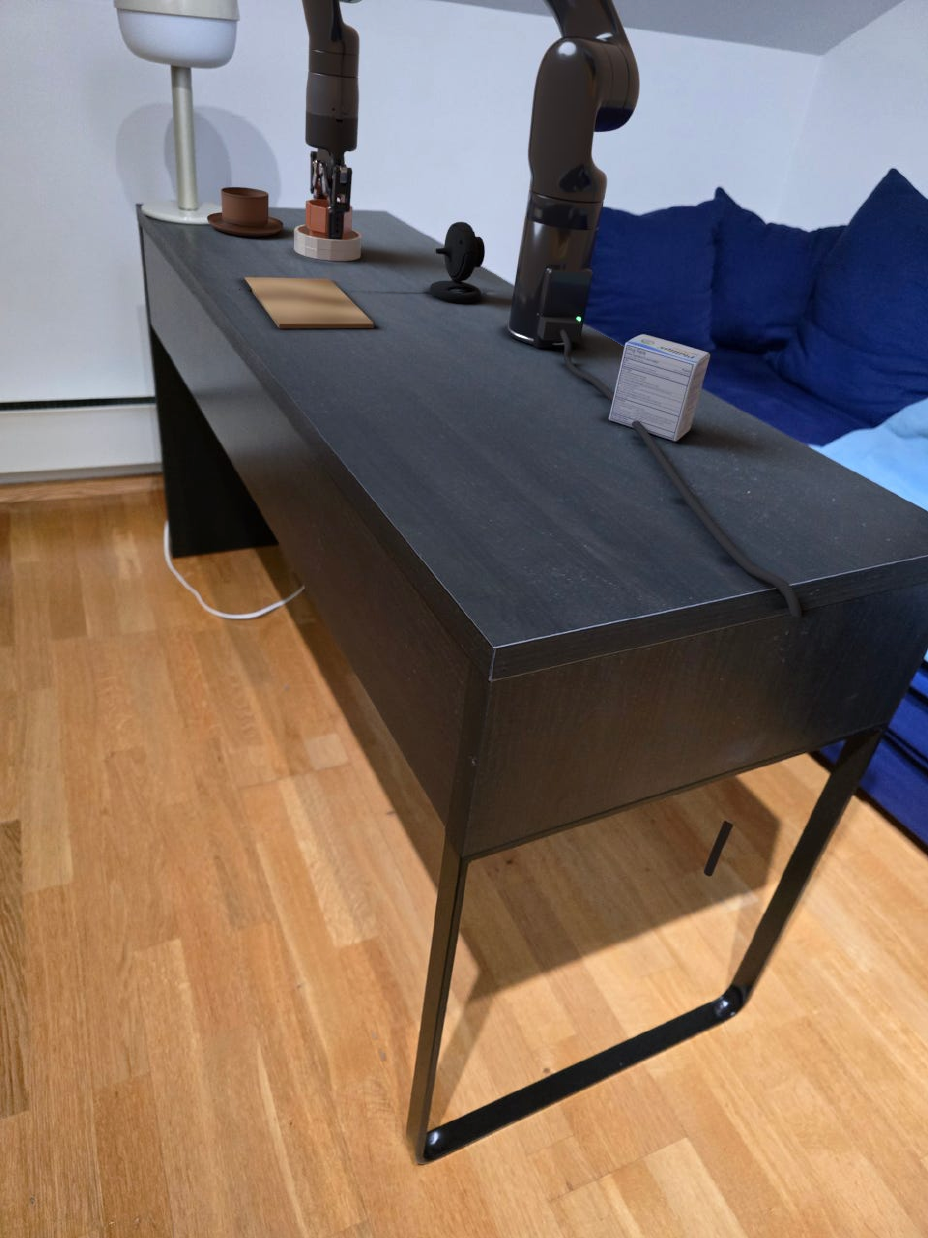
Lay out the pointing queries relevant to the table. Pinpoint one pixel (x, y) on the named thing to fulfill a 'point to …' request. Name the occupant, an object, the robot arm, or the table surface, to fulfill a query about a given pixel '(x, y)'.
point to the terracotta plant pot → (323, 219)
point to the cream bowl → (327, 246)
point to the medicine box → (659, 386)
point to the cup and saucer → (245, 213)
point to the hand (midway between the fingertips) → (328, 233)
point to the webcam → (460, 264)
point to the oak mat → (307, 303)
